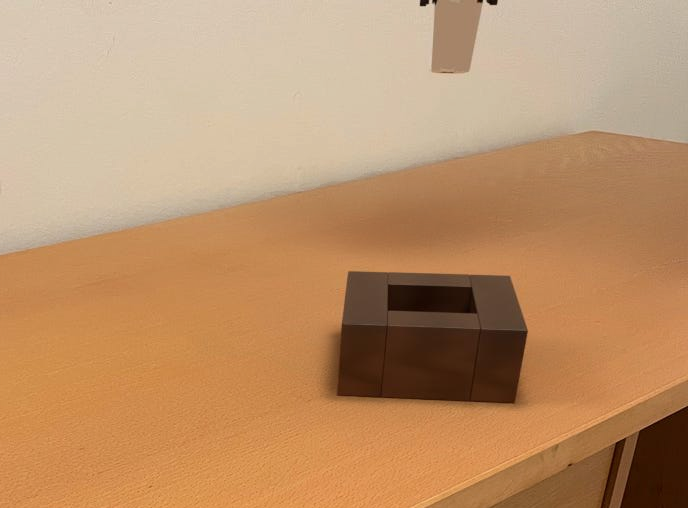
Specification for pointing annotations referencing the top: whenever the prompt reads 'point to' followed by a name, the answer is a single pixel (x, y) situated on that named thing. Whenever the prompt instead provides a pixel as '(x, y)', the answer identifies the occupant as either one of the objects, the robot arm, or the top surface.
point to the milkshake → (453, 35)
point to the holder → (431, 337)
